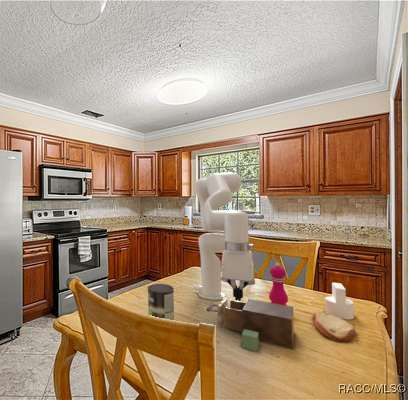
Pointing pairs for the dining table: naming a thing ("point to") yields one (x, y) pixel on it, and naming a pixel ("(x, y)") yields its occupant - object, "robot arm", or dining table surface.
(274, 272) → the pepper mill
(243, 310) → the cabinet
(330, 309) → the white stepped tower
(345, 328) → the slice of bread
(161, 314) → the coffee can
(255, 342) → the block
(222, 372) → the dining table surface
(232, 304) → the drawer
